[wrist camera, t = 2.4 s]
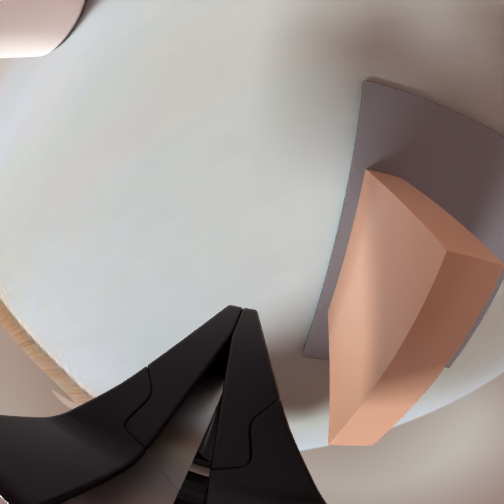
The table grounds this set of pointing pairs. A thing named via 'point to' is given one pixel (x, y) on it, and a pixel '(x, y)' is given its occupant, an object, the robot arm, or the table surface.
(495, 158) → the mat
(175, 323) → the table surface
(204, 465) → the robot arm
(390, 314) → the tile
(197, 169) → the table surface
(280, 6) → the table surface
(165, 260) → the table surface
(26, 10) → the can
